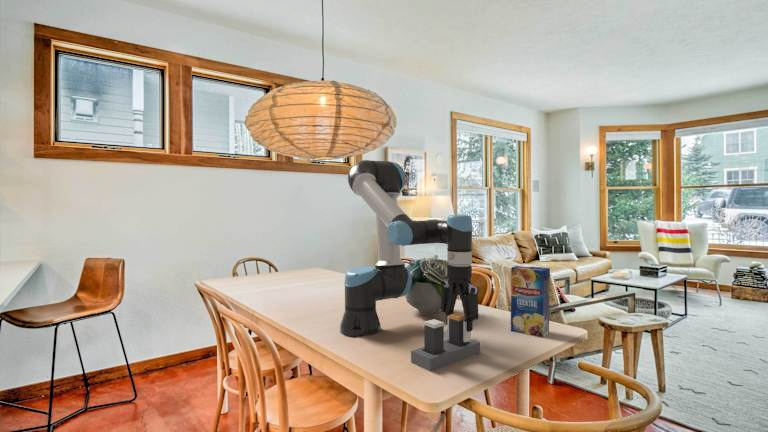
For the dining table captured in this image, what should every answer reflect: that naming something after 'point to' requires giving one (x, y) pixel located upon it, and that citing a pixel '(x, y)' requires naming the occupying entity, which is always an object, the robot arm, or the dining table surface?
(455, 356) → the grey socket block
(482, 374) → the dining table surface
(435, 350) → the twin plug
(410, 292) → the flower arrangement
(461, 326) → the plug
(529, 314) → the juice carton
